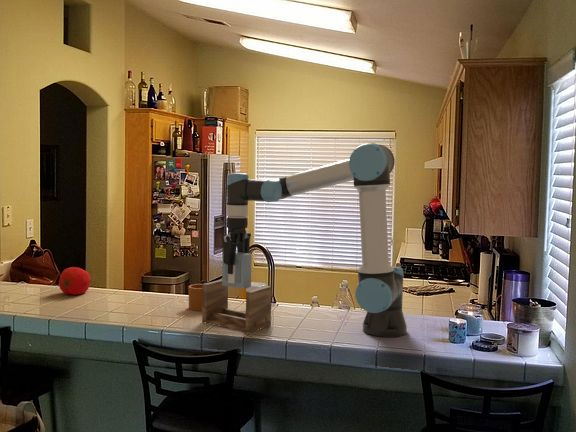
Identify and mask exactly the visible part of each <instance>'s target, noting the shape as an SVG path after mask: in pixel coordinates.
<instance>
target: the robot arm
mask: <svg viewBox="0 0 576 432" xmlns="http://www.w3.org/2000/svg"><path fill="white" fill-rule="evenodd" d="M395 161H396V160H395V155H394V153H393V152H392V151H391V149H390V148H389V147H387V146H385V145H383V144H377V143H374V142H371V143H370V142H368V143H362V144H361V145H360V144H359V145H358V146H357V147H356V148H355V149H353V151H352V152H351V154H350V156H349V158H348V159H344V160H339V161H336V162H333V163H329V164H326V165H322V166H319V167H315V168H312V169H311V168H310V169H308V170H304V171H301V172H296V173H293V174H290V175H285V176H282V177H278V178H272V179H271V178H269V179H250V178H249V174H248V173H243V172H242V173H241V172H231V173H228V174H227V178H226V216H227V217H226V225H225V226H226V228H228V231H227V234H226V235H222V236H221V237H222V243H223V247H222V248H223V251H222V252H223V262H224V263H225V264H227V265H228V283H235V280H236V265H234V261H235V255H236V252H242V253H249V254H250V246H251V245H250V243H251V242H250V241H251V237H252V236H251V235H252V234H251V232H250V233H249V232H247V231H246V229H247V228H248V226H249V225H248V224H249V223H248V222H249V219H248V215H249V202H250V201H251V202H252V201H253V202H267V203H274V202H278V201H280V200H284V199H287V198H289V197H290V198H291V197H292V196H296V195H301V194H305V193H308V192H313V191H317V190H321V189H324V188H328V187H331V186H337V185H340V184H344V183H348V182H351V181H353V188H354V189H356V190H357V191H358V202H359V204H358V205H359V224H360V226H359V227H360V243H361V245H360V246H361V248H360V249H361V265H360V267H359V268H358V269H357V279H358V280H357V281H358V283H357V285H356V288H355V290H354V291H355V292H354V294H355V296H354V297H355V300H356V302H357V304H358V306H359V307H360V308H361V309H362V310H363V311H365V312H366V314H365V317H364V320H363V322H362V331H363V332H364V333H365V334H367V335H372V336H375V337H381V338H394V337H395V338H396V337H402V336H405V335H406V334H407V332H408V331H407V329H408V327H407V322H406V319H405V315H404V312H403V297H404V296H403V293H404V291H403V290H404V277H405V275H404V269H403V268H402V267H401V266H400V267H399V266H393V265H390V263H389V262H390V259H389V258H390V257H389V242H388V241H389V239H388V238H389V235H388V234H389V233H388V215H387V214H388V212H387V196H386V195H387V194H386V191H387V189H388V188H389V187H390V186H391V173H392V172H393V170H394V167H395V164H396V163H395Z"/></svg>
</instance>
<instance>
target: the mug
mask: <svg viewBox="0 0 576 432" xmlns="http://www.w3.org/2000/svg"><path fill="white" fill-rule="evenodd" d="M202 284H203V283H195V284H190V285H188V288H187V289H188V310H189V309H190V311H192V310H193V312H202Z"/></svg>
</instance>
